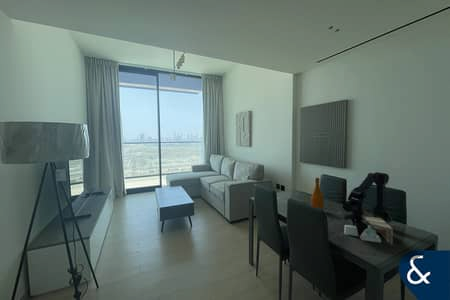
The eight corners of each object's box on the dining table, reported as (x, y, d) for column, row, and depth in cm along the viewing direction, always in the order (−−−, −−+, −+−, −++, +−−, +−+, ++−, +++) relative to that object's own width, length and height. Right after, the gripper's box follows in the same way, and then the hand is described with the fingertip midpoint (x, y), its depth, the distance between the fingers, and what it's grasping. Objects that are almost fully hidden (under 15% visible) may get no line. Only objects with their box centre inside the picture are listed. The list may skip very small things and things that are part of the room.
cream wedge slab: (364, 230, 132) (365, 216, 132) (380, 232, 129) (380, 218, 129) (374, 242, 117) (374, 226, 116) (392, 245, 114) (393, 228, 114)
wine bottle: (313, 208, 175) (313, 176, 173) (324, 211, 168) (325, 177, 166) (309, 211, 168) (309, 177, 166) (320, 214, 161) (321, 179, 159)
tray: (342, 229, 134) (342, 221, 134) (373, 233, 129) (373, 225, 128) (347, 237, 123) (347, 229, 123) (381, 242, 117) (381, 233, 117)
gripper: (340, 203, 137) (339, 224, 138) (347, 213, 119) (346, 237, 120) (358, 205, 133) (357, 226, 134) (368, 215, 116) (368, 240, 117)
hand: (357, 232), depth 126 cm, fingers open, 8 cm apart
